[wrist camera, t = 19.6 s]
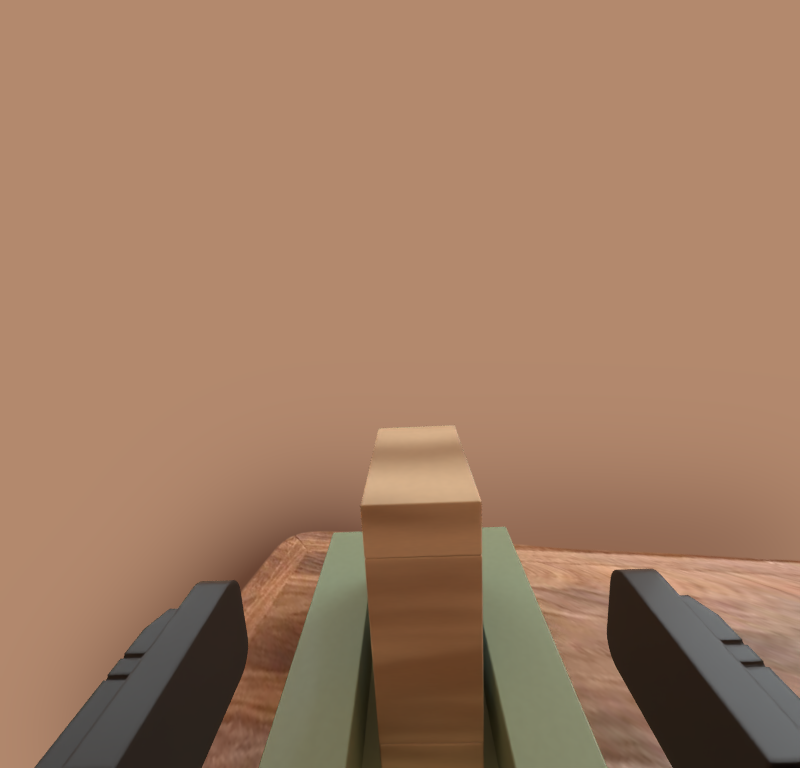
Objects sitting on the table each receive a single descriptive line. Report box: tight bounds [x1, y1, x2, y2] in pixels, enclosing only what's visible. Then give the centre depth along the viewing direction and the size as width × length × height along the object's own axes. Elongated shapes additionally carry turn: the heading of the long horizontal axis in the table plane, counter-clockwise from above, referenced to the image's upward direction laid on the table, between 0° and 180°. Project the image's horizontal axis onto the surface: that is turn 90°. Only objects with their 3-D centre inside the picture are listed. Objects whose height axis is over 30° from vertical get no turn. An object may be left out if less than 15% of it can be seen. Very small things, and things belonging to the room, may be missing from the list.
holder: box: [259, 527, 607, 768], centre depth 19 cm, size 16×12×4 cm
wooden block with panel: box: [360, 425, 484, 768], centre depth 18 cm, size 8×4×12 cm, turn 179°
